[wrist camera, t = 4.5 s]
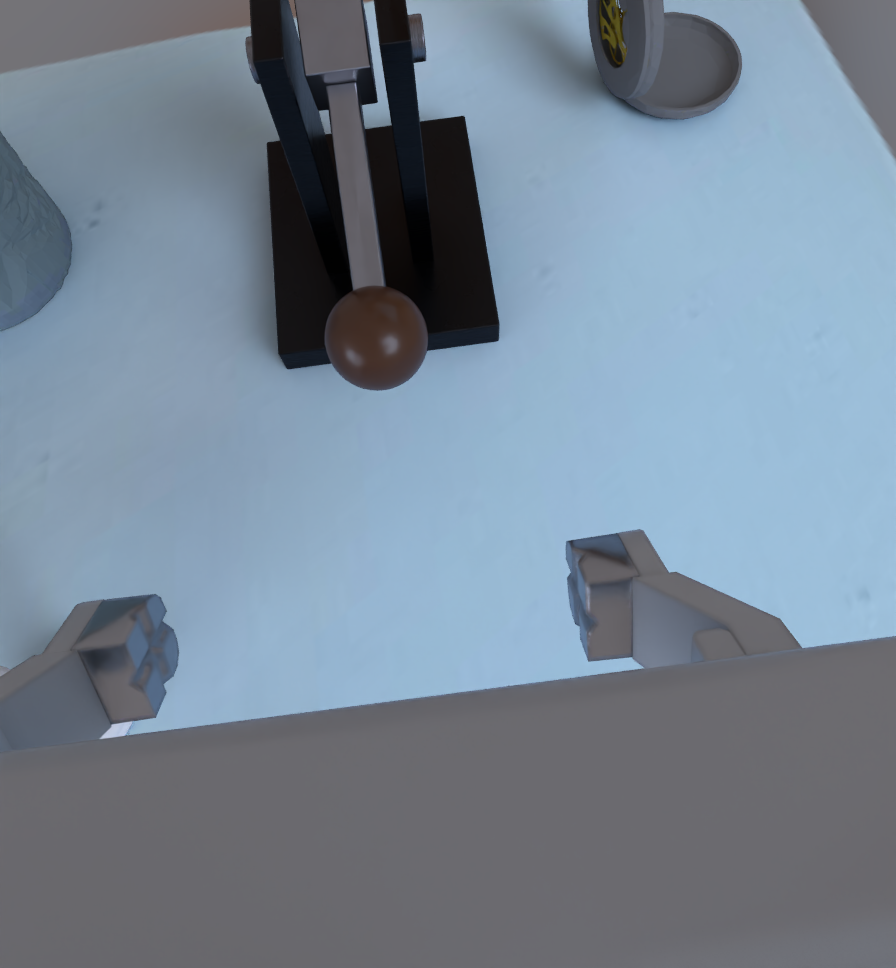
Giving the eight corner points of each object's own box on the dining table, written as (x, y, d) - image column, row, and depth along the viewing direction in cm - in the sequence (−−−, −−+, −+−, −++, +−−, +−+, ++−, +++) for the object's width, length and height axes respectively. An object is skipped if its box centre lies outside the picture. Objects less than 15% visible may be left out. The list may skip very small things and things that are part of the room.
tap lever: (435, 388, 27) (433, 377, 23) (340, 400, 27) (323, 391, 23) (388, 32, 26) (378, -36, 22) (291, 45, 26) (266, -21, 22)
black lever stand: (498, 341, 33) (509, 125, 21) (286, 370, 33) (172, 170, 21) (465, 138, 37) (457, -147, 24) (274, 163, 37) (171, -108, 24)
